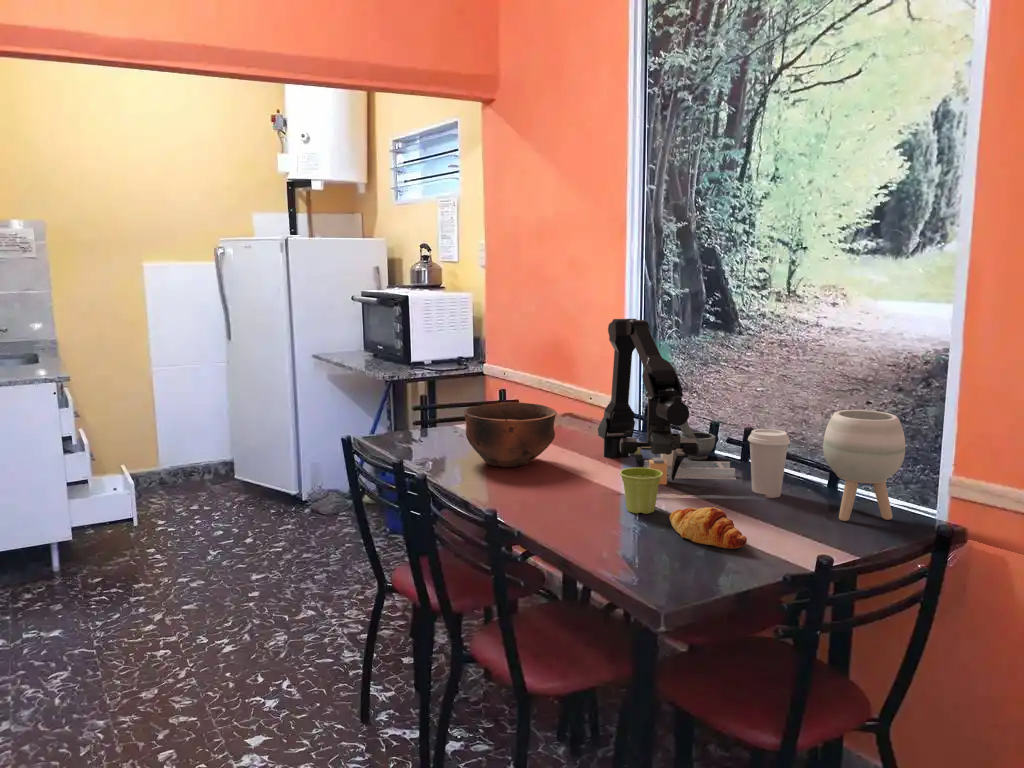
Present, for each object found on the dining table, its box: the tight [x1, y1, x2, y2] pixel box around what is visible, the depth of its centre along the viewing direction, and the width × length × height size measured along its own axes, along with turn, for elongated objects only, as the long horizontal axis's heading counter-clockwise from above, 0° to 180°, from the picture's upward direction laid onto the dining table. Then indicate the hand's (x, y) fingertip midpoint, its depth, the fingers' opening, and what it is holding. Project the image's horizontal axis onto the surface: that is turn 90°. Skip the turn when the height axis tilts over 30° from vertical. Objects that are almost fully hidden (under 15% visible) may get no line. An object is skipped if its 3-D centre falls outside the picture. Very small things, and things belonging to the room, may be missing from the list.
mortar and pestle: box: [679, 419, 716, 460], centre depth 226 cm, size 11×9×12 cm
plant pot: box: [619, 467, 663, 515], centre depth 180 cm, size 9×9×9 cm
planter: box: [822, 409, 906, 522], centre depth 175 cm, size 16×16×22 cm
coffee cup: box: [747, 428, 791, 499], centre depth 192 cm, size 10×10×15 cm
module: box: [648, 457, 668, 485], centre depth 200 cm, size 4×4×7 cm
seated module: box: [660, 450, 674, 467], centre depth 210 cm, size 4×4×7 cm
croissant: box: [669, 506, 748, 550], centre depth 162 cm, size 21×10×8 cm, turn 31°
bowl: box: [462, 401, 558, 468], centre depth 221 cm, size 25×25×15 cm
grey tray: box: [643, 459, 737, 480], centre depth 210 cm, size 22×12×3 cm, turn 86°
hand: (657, 480), depth 201 cm, fingers open, 7 cm apart
